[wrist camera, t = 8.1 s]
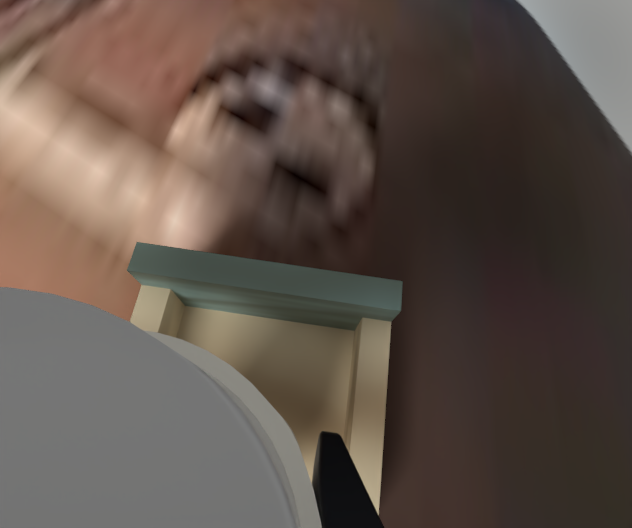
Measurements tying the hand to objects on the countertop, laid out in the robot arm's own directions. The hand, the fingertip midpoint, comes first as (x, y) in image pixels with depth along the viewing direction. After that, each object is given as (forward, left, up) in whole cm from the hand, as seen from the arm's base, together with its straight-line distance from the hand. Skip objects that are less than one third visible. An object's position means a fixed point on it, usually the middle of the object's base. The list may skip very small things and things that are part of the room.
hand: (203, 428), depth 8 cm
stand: (+1, -1, -10) cm, 11 cm away
